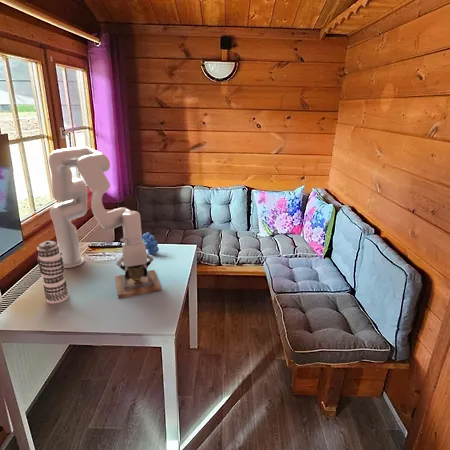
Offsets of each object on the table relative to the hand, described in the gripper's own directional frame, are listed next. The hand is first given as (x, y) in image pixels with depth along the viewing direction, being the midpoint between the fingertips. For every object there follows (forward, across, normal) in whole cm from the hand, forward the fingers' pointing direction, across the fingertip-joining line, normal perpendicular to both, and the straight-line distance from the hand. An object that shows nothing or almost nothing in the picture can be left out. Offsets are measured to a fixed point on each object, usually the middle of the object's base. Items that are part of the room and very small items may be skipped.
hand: (136, 276), depth 157 cm
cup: (+2, 0, 0) cm, 2 cm away
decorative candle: (+4, -33, 0) cm, 33 cm away
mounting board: (+4, 0, 0) cm, 4 cm away
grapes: (+4, +10, +31) cm, 33 cm away
